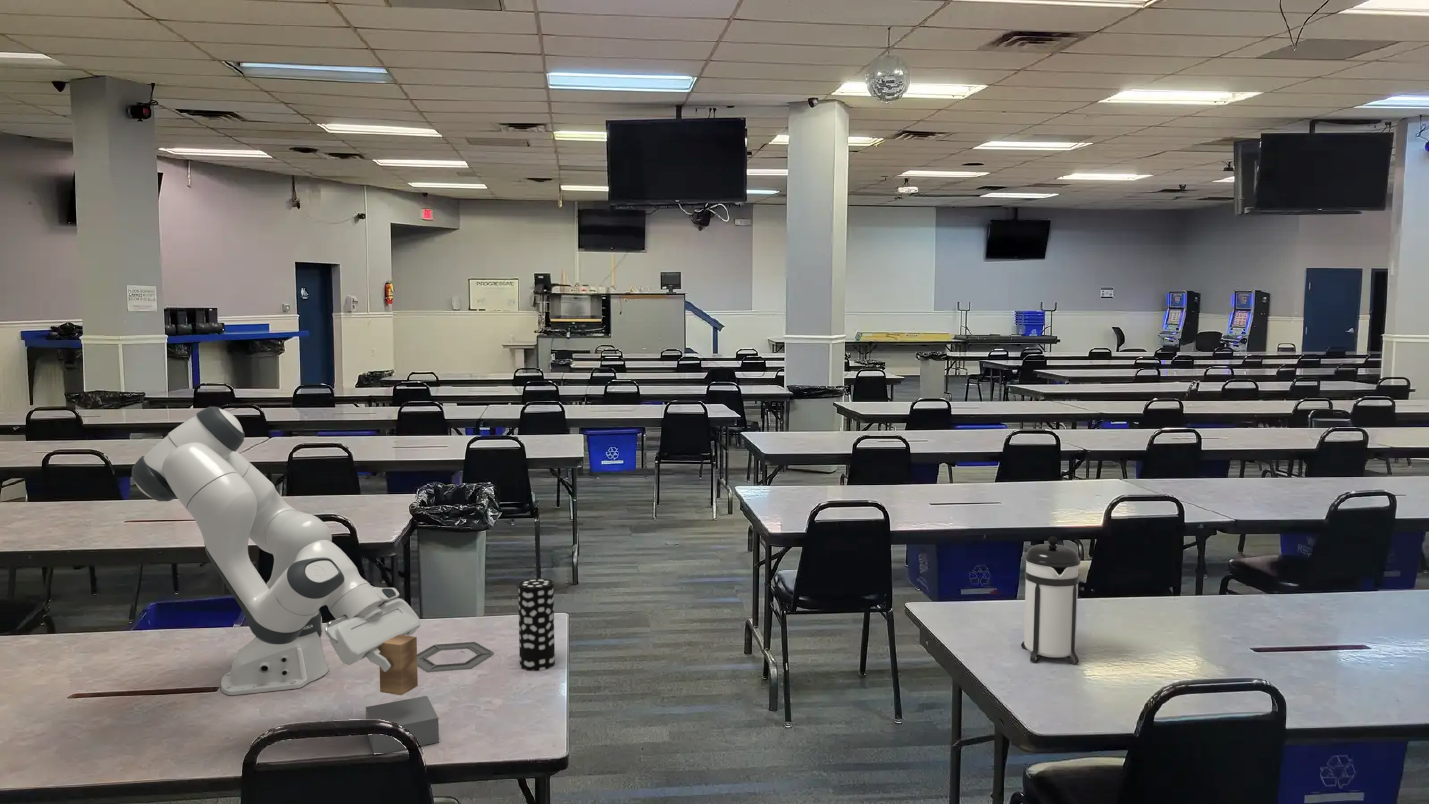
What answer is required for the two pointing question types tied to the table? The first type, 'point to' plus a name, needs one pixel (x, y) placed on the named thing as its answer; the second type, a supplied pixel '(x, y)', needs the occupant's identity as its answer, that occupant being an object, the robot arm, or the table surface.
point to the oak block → (399, 665)
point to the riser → (405, 722)
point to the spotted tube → (536, 624)
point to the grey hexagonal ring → (431, 667)
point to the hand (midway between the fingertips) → (400, 663)
